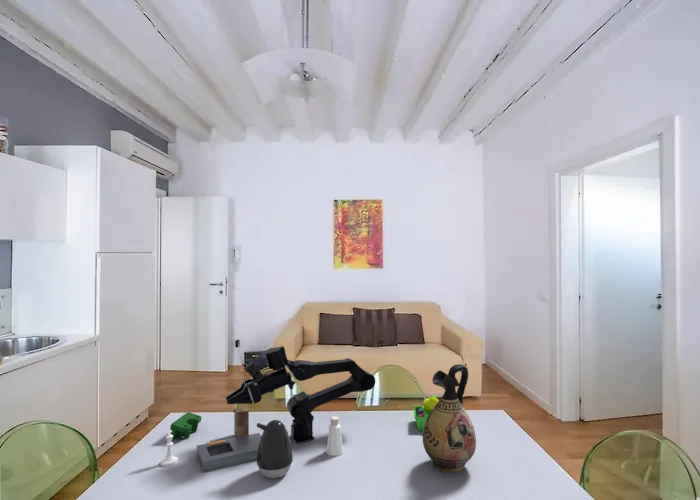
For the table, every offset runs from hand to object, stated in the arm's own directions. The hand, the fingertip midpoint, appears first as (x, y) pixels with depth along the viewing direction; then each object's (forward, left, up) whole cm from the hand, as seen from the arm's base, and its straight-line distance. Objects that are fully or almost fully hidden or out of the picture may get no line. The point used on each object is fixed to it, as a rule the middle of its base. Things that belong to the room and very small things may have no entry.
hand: (226, 400), depth 135 cm
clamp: (+10, -19, -16) cm, 27 cm away
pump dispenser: (-9, +21, -16) cm, 28 cm away
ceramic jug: (-57, +42, -16) cm, 72 cm away
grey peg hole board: (-1, +5, -16) cm, 17 cm away
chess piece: (+17, 0, -16) cm, 23 cm away
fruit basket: (-69, +15, -16) cm, 72 cm away
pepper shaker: (-30, +18, -16) cm, 38 cm away
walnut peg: (-7, -9, -16) cm, 20 cm away
